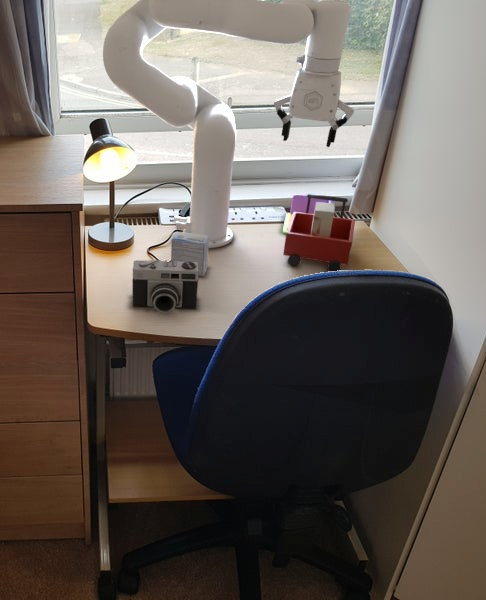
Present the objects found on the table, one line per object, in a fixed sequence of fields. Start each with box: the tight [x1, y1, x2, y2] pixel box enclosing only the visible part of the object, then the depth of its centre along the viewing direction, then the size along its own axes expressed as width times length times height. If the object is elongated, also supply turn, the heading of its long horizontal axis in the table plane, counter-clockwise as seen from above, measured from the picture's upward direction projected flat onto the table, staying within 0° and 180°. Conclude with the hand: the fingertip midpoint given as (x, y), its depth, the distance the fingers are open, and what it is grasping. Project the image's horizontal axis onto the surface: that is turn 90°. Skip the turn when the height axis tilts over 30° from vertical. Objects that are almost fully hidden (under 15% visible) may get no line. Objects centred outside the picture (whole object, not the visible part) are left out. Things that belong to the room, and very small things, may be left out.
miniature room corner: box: [282, 193, 333, 235], centre depth 163 cm, size 12×12×7 cm
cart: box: [282, 193, 356, 272], centre depth 149 cm, size 14×14×13 cm
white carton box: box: [311, 202, 336, 238], centre depth 148 cm, size 5×4×10 cm
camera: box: [131, 259, 199, 314], centre depth 132 cm, size 14×9×10 cm, turn 77°
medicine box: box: [170, 231, 209, 277], centre depth 145 cm, size 8×4×9 cm, turn 71°
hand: (306, 142), depth 145 cm, fingers open, 9 cm apart
